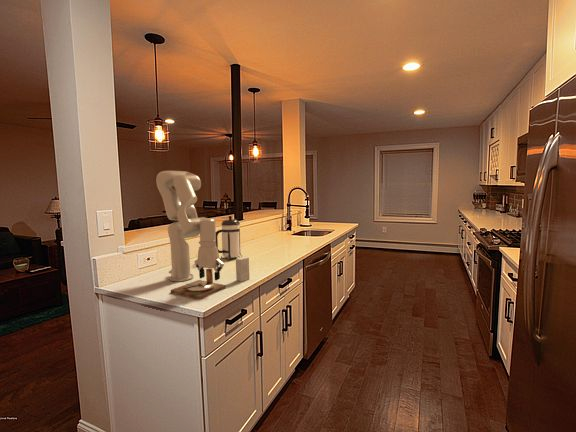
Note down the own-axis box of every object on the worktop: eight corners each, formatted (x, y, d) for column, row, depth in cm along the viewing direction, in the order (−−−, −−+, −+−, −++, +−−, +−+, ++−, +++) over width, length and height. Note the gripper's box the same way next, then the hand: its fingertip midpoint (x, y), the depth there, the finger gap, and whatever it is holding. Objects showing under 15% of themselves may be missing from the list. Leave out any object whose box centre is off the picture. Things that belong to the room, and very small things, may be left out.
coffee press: (223, 255, 231) (222, 214, 228) (244, 255, 228) (243, 214, 225) (215, 261, 213) (213, 217, 211) (237, 261, 211) (236, 217, 208)
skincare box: (244, 277, 173) (243, 256, 172) (249, 279, 171) (249, 257, 170) (236, 280, 169) (235, 258, 168) (241, 281, 166) (240, 259, 165)
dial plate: (170, 292, 150) (170, 289, 150) (198, 282, 166) (198, 279, 166) (199, 299, 141) (198, 296, 141) (226, 288, 156) (226, 284, 156)
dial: (206, 281, 162) (206, 266, 161) (218, 287, 152) (218, 271, 151) (178, 287, 152) (177, 271, 151) (188, 294, 142) (187, 277, 141)
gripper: (188, 244, 154) (190, 278, 155) (218, 246, 147) (219, 282, 149) (198, 241, 161) (200, 274, 162) (227, 243, 154) (228, 278, 155)
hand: (209, 278), depth 155 cm, fingers open, 8 cm apart
